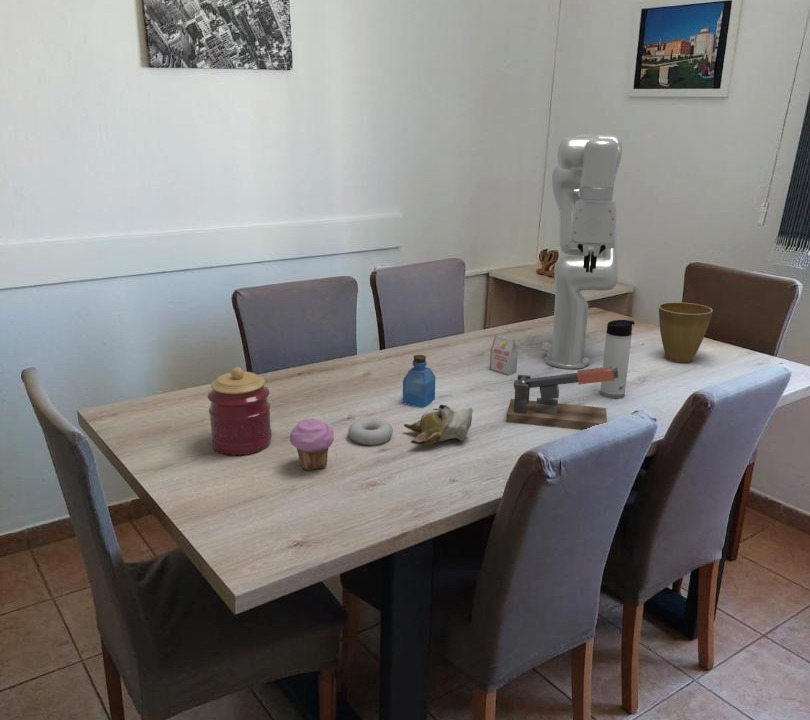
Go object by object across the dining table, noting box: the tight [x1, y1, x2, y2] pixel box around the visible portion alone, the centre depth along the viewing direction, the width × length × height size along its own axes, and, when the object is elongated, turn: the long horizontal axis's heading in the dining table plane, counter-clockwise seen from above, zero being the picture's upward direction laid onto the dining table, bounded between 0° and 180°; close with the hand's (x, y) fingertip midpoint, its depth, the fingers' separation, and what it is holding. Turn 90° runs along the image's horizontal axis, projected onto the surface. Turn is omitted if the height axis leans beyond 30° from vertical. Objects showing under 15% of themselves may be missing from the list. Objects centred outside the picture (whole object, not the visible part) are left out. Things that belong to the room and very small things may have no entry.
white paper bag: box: [489, 334, 519, 376], centre depth 202 cm, size 4×7×10 cm, turn 45°
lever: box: [513, 366, 619, 400], centre depth 168 cm, size 24×4×5 cm, turn 76°
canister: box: [207, 366, 273, 456], centre depth 154 cm, size 13×13×18 cm
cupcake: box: [289, 418, 335, 471], centre depth 146 cm, size 9×9×10 cm
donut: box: [347, 417, 394, 446], centre depth 160 cm, size 10×4×10 cm
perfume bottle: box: [402, 354, 436, 408], centre depth 179 cm, size 6×6×12 cm
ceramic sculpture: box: [403, 404, 474, 446], centre depth 158 cm, size 11×9×15 cm
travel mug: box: [599, 319, 635, 399], centre depth 184 cm, size 6×7×20 cm
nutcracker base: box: [505, 374, 608, 430], centre depth 170 cm, size 23×10×9 cm, turn 76°
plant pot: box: [658, 301, 713, 364], centre depth 213 cm, size 15×15×16 cm
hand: (589, 271), depth 174 cm, fingers closed
